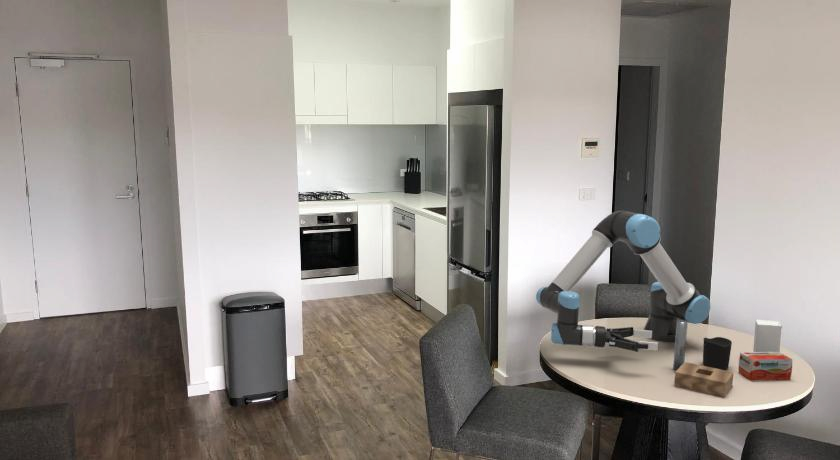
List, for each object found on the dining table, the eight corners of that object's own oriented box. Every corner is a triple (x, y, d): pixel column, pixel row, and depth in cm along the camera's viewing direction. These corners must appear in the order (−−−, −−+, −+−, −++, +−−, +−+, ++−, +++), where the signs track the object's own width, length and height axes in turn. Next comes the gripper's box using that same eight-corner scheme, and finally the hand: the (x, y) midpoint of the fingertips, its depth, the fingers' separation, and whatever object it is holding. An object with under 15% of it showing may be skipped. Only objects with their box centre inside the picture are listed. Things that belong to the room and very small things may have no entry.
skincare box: (775, 360, 258) (780, 321, 255) (778, 366, 252) (783, 326, 249) (751, 358, 260) (755, 318, 258) (753, 363, 254) (757, 323, 252)
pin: (671, 370, 247) (675, 322, 244) (674, 367, 250) (678, 319, 247) (682, 372, 245) (686, 323, 242) (684, 369, 247) (688, 321, 244)
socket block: (674, 385, 232) (675, 371, 231) (683, 375, 242) (684, 361, 241) (724, 397, 223) (725, 383, 222) (732, 386, 233) (733, 372, 232)
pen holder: (727, 373, 245) (729, 346, 243) (699, 367, 250) (701, 341, 248) (731, 365, 253) (733, 339, 251) (704, 360, 257) (706, 334, 256)
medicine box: (777, 372, 247) (779, 350, 245) (791, 380, 239) (793, 358, 237) (737, 372, 245) (739, 351, 244) (749, 381, 237) (752, 359, 236)
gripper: (591, 335, 263) (648, 339, 259) (595, 357, 239) (659, 362, 235) (592, 316, 262) (650, 320, 258) (597, 337, 238) (660, 341, 234)
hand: (654, 340), depth 247 cm, fingers open, 13 cm apart
